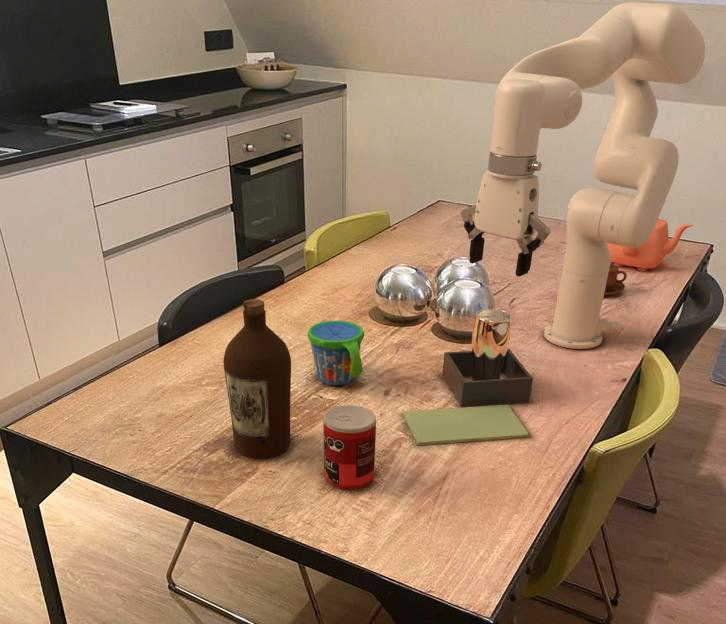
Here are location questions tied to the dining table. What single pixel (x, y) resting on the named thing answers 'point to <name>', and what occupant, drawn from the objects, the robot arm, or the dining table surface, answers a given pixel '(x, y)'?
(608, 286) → the cup and saucer
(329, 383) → the snack cup
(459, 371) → the basin
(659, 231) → the teapot
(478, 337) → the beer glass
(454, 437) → the drying mat
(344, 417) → the canned food
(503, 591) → the dining table surface
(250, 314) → the olive oil
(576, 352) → the dining table surface
